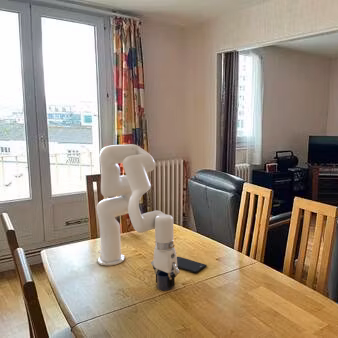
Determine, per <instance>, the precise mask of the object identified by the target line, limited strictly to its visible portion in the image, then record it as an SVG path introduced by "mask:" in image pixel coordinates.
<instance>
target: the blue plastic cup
mask: <svg viewBox="0 0 338 338" xmlns="http://www.w3.org/2000/svg"><path fill="white" fill-rule="evenodd" d="M171 276H172V272H171ZM168 279H169V276H168V273H166V272H164V271H159V272H158V273H157V283H156V288H157V289H158V290H159V291H168V290H169V291H170V290H171V289H172V288H173V287H171V288H168Z"/></svg>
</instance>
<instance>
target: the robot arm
mask: <svg viewBox="0 0 338 338" xmlns="http://www.w3.org/2000/svg"><path fill="white" fill-rule="evenodd" d="M99 163H100V169H101V171H100V194H101V195H102V197H104V199H102V200H100V201H99V202H98V203H97V204H96V214H97V218H98V224H99V225H98V226H99V242H100V243H99V244H100V250H98V251H97V252H98V254H99V255H100V256H99V257H98V259H97V263H98V264H99V265H100V266H115V265H119V264H121V263H123V262H124V261H125V258H126V257H125V255H124V254H122V241H121V240H122V239H121V238H122V237H121V236H122V235H121V225H120V222H119V221H118V220H117V217H120V216H124V215H128V216H129V219H130V222H131V225H132V228H133V229H134V230H135V231H136V232H137V233H140V234H141V233H142V234H143V233H147V232H150V231H153V230H154V244H155V246H154V250H153V260H152V261H151V262H150V264H151V266H152V268H153V271H154V274H155V283H156V284H157V273H158V272H159V271H164V272H166V273H168V276H169V279H168V288H171V287H172V288H173V287H175V284H176V283H175V278H176V277H177V276H178V275H179V274H180V270H179V268H177V257H178V256H177V252H176V248H175V247H176V246H175V244H174V217H173V216H172V214H166V213H164V212H163V211H161V210H153V211H152V210H151V211H147V212H144V213H142V211H141V209H140V202H141V198H142V197H143V195H145V194H146V193H147V192H148V191H150V190H151V188H152V184H151V182H150V179H149V176H148V173H150V172H152V171H154V169H155V168H156V162H155V159H154V157H153V156H152V155H151V154H150V153H149V152H148V151H146V150H145V149H143V148H142V147H141V146H139V145H138V144H134V143H130V144H114V145H113V144H112V145H107V146H104V147H103V148H101V150H100V152H99ZM119 164H122V168H123V170H124V173H125V175H121V167H120V165H119ZM171 272H172V276H171ZM172 288H171V289H172Z"/></svg>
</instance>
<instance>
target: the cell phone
mask: <svg viewBox="0 0 338 338" xmlns="http://www.w3.org/2000/svg"><path fill="white" fill-rule="evenodd" d="M206 267H207V264H205V263H202V262H198V261H195V260H191V259H188V258H184V257H182V256H177V268H178V269H180V270H184V271H187V272H190V273H193V274H197V273H199V272H200V271H202V270H204V269H205V268H206Z"/></svg>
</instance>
